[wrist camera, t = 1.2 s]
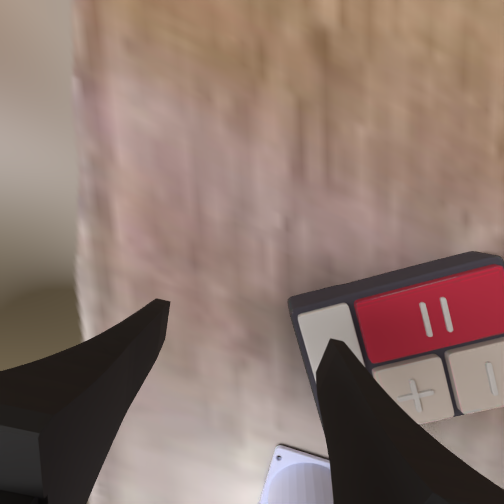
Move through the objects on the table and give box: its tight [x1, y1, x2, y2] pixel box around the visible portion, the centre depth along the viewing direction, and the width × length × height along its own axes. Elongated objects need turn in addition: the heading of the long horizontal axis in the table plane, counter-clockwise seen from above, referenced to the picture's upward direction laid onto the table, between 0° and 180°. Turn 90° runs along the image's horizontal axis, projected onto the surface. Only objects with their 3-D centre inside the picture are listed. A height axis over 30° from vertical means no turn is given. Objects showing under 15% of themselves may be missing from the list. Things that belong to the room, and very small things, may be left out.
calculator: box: [288, 251, 504, 434], centre depth 22 cm, size 11×4×15 cm
